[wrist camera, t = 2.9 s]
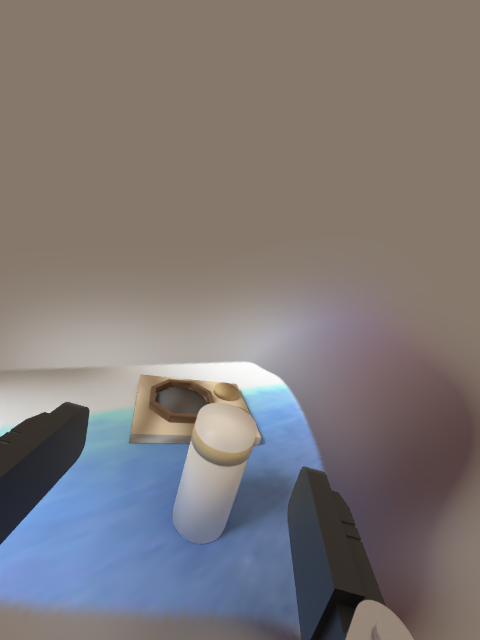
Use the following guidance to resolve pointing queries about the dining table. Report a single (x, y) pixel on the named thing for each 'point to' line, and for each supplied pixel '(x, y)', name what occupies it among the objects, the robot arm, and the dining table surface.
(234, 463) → the cylinder
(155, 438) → the board
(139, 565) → the dining table surface
